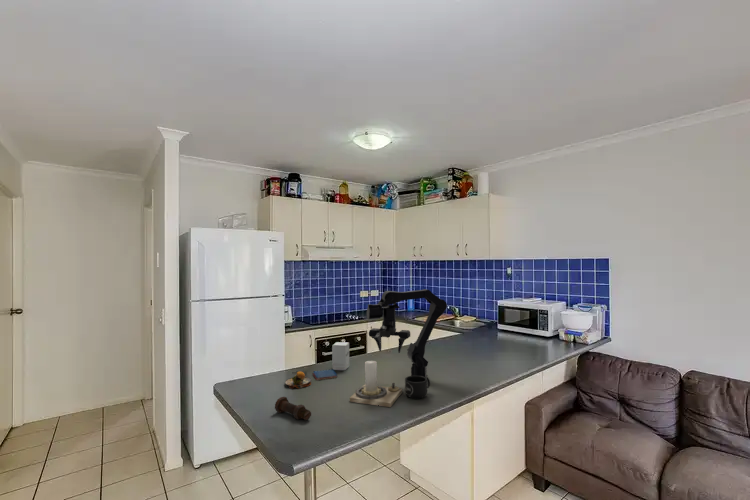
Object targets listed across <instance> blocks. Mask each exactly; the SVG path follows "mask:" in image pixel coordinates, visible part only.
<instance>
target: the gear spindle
mask: <svg viewBox="0 0 750 500" xmlns="http://www.w3.org/2000/svg"><path fill="white" fill-rule="evenodd" d="M377 363H378V362H377V361H376V360H366V361H365V362H364V375H365V376H364V380H365V381H364V385H365V387H364V388H363V389H362V394H364V395H368V396H373V395H379V393H381V389H379V388H378V387H377V386H378V364H377Z"/></svg>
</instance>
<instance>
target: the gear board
mask: <svg viewBox="0 0 750 500" xmlns="http://www.w3.org/2000/svg"><path fill="white" fill-rule="evenodd" d="M391 383H392V384H391V386H382V385H377V387H378V388H379V389H381V393H379V395H373V396H368V395H364V394H362V389H363V388H364V387H365V384H363V385H362V386H359V387H358V388H356V389H355V392H354V393H353V394H352V395H351V396H350V397H349V402H351V403H358V404H365V405H372V406H378V405H379V406H380V407H387V408H391V407H392V406H393V405H394V403H395V402H397V401H396V400H398V398H399V397H400V396H401V394H403V389H402V388H399V387H398V386H395V385H396V384H395V382H391ZM379 406H378V407H379Z"/></svg>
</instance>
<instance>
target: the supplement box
mask: <svg viewBox="0 0 750 500" xmlns="http://www.w3.org/2000/svg"><path fill="white" fill-rule="evenodd" d="M331 346H332V347H331V351H332V353H331V354H332V355H331V358H332V361H331V363H332V365H331V366H332V367H331V368H332V369H333V370H334V371H346V370H347V369H348V368H349V367H350V342H344V341H343V342H342V341H340V342H339V341H336V342H335V343H334V344H332V345H331ZM332 369H331V370H332Z"/></svg>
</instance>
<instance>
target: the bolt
mask: <svg viewBox="0 0 750 500" xmlns="http://www.w3.org/2000/svg"><path fill="white" fill-rule="evenodd" d="M274 409H275V412H276V413H279V414H281V413H284V412H285V413H288V414H291V415H293V418H294V419H295V420H298V421H299V420H304V421H307V420H309V419H310V418H311V416H312V411H311V410H309V409H307V408H306V407H305V405H304V404H302V403H301V404H298V405H297V404H294V403H291V402H289V399H288V397H286V396H281V397H279V398H278V399H277V400H276V402H275V403H274Z"/></svg>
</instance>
